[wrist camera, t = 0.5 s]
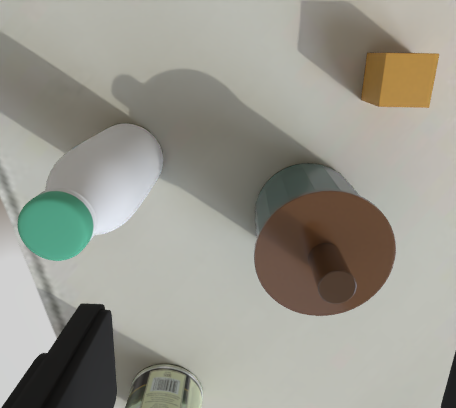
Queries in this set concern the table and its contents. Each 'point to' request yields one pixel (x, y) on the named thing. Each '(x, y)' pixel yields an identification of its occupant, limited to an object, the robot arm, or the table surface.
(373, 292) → the lid
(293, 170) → the canister
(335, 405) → the table surface
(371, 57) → the block
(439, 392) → the table surface
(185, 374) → the coffee can
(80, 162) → the milk bottle
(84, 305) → the robot arm
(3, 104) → the table surface
